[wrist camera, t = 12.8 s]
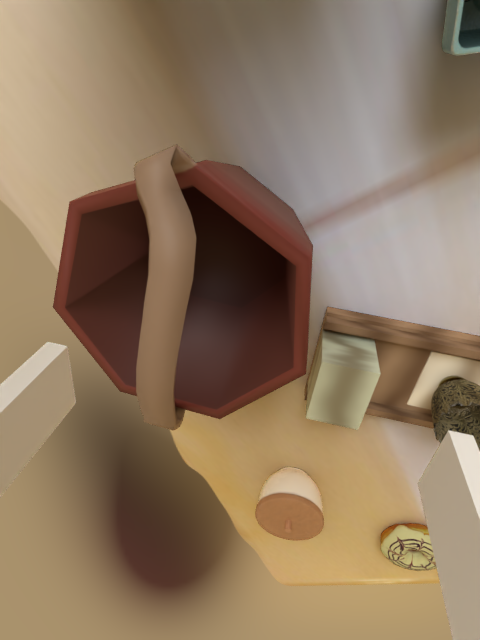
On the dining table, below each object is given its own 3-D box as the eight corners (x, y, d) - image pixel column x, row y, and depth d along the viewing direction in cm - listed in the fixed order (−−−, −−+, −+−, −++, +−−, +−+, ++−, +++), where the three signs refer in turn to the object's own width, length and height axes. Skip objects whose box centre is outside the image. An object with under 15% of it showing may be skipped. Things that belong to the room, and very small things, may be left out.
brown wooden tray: (305, 388, 57) (301, 432, 50) (327, 306, 49) (327, 343, 42) (475, 425, 54) (497, 477, 47) (525, 345, 47) (561, 391, 40)
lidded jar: (249, 473, 69) (239, 523, 61) (292, 448, 64) (287, 499, 56) (292, 505, 71) (288, 557, 63) (337, 484, 66) (338, 538, 58)
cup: (436, 413, 52) (452, 461, 46) (410, 376, 50) (422, 421, 43) (494, 392, 49) (521, 441, 42) (469, 351, 47) (493, 396, 40)
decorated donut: (389, 512, 67) (392, 532, 64) (453, 527, 66) (460, 549, 63) (372, 544, 73) (374, 565, 70) (431, 559, 72) (436, 581, 68)
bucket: (180, 91, 40) (17, 95, 19) (370, 185, 41) (413, 288, 20) (127, 281, 53) (-4, 408, 32) (272, 349, 54) (236, 514, 33)
